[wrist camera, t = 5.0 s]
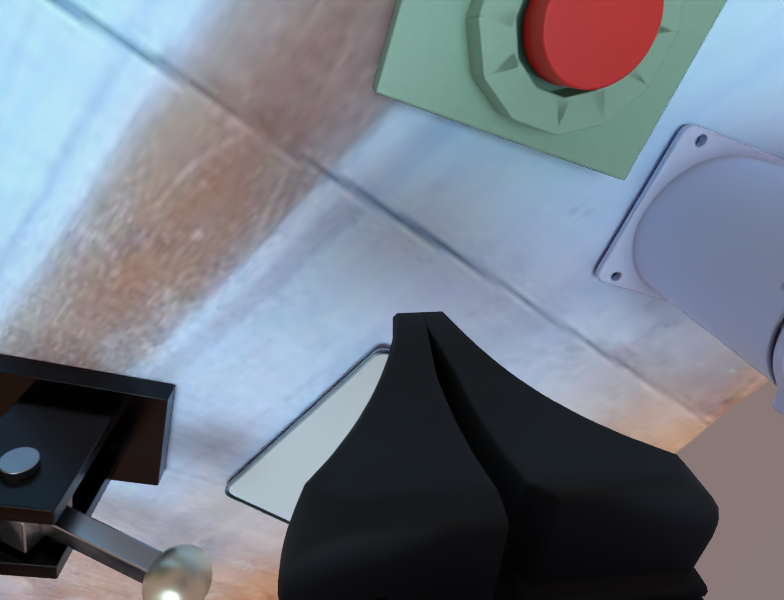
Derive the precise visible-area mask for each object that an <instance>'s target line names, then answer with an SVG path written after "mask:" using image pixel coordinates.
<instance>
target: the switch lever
mask: <svg viewBox="0 0 784 600" xmlns="http://www.w3.org/2000/svg"><path fill="white" fill-rule="evenodd" d="M45 535H46V536H48V537H50V538H52V539H54V540H56V541H58V542H60V543H62V544H64V545H66V546H68V547H70V548H72V549H74V550H76V551H78V552H80V553H82V554H84V555H86V556H88V557H90V558H92V559H94V560H96V561H98V562H100V563H102V564H104V565H106V566H108V567H110V568H112V569H114V570H116V571H118V572H120V573H122V574H124V575H126V576H128V577H130V578H132V579H134V580H136V581H138V582H140V583H142V597H143V600H203V599H204V598H205V596H206V595H207V593H208V591H209V588H210V585H211V582H212V565H211V562H210V559H209V557H208V556H207V554H206V553H205V552H204V551H203V550H202V549H201V548H199V547H197V546H194V545H190V544H180V545H176V546H173V547H171V548H168V549H167V550H165V551H164V552H162V551H160V550H157V549H155V548H153V547H151V546H149V545H147V544H145V543H143V542H141V541H139V540H137V539H135V538H133V537H131V536H129V535H127V534H125V533H123V532H121V531H119V530H117V529H115V528H113V527H111V526H108V525H106V524H104V523H102V522H100V521H98V520H96V519H94V518H92V517H90V516H88V515H86V514H84V513H82V512H80V511H78V510H76V509H74V508H73V500H72V497H71V499H70V500H69V502H68V504H67V505H66V507H65V508H64V510H63V512H62V513H61V515H60V517H59V518H58V520H57V522H56V523H55V524H54V525H45V524H35V523H25V522H15V521H5V520H0V541H2V542H4V543H6V544H8V545H10V546H12V547H14V548H15V549H17V550H19V551H21V552H23V553H27V552H28V551H29V550H30V549H31V548H32V547H34V546H35V545H36V544H37V543H38V542H39V541H40V540H41V539H42V538H43V537H44V536H45Z"/></svg>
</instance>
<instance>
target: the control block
mask: <svg viewBox="0 0 784 600" xmlns="http://www.w3.org/2000/svg"><path fill="white" fill-rule="evenodd" d="M529 1H530V0H396V4H395V7H394V11H393V15H392V18H391V22H390V25H389V29H388V33H387V36H386V40H385V43H384V47H383V51H382V54H381V58H380V61H379V65H378V69H377V72H376V76H375V80H374V83H373V89H374V90H375V92H376V93H377V94H380V95H383V96H386V97H389V98H392V99H394V100H397V101H400V102H403V103H406V104H409V105H411V106H414V107H417V108H420V109H423V110H426V111H428V112H431V113H434V114H437V115H440V116H442V117H445V118H448V119H451V120H454V121H457V122H459V123H462V124H465V125H468V126H471V127H474V128H476V129H479V130H482V131H485V132H488V133H491V134H493V135H496V136H499V137H502V138H505V139H508V140H510V141H513V142H516V143H519V144H522V145H525V146H527V147H530V148H533V149H536V150H539V151H542V152H544V153H547V154H550V155H553V156H556V157H559V158H561V159H564V160H567V161H570V162H573V163H575V164H578V165H581V166H584V167H587V168H590V169H592V170H595V171H598V172H601V173H604V174H607V175H609V176H612V177H615V178H618V179H621V180H625V178H626V177H627V175H628V173H629V171H630V170H631V168H632V166H633V164H634V163H635V161H636V159H637V157H638V156H639V154H640V152H641V150H642V149H643V147H644V145H645V143H646V142H647V140H648V138H649V136H650V135H651V133H652V131H653V129H654V128H655V126H656V124H657V122H658V121H659V119H660V117H661V115H662V114H663V112H664V110H665V108H666V107H667V105H668V103H669V101H670V100H671V98H672V96H673V94H674V93H675V91H676V89H677V87H678V86H679V84H680V82H681V80H682V79H683V77H684V75H685V73H686V71H687V70H688V68H689V66H690V64H691V63H692V61H693V59H694V57H695V56H696V54H697V52H698V50H699V49H700V47H701V45H702V43H703V42H704V40H705V38H706V36H707V35H708V33H709V31H710V29H711V28H712V26H713V24H714V22H715V21H716V19H717V17H718V15H719V14H720V12H721V10H722V8H723V7H724V5H725V3H726V1H727V0H664V8H663V15H662V20H661V24H660V27H659V30H658V33H657V36H656V38H655V40H654V42H653V44H652V46H651V48H650V49H649V51H648V53H647V54H646V56H645V57H644V58H643V60H642V61H641V62H640V63H639V64H638V65H637V67H636V68H634V69H633V70H632V71H631V72H630V73H629V74H628V75H626V76H625V77H624V78H622V79H621V80H619V81H618V82H616V83H614V84H612V85H610V86H607V87H604V88H601V89H596V90H580V89H574V88H569V87H563V86H558V85H554V84H551V83H549V82H547V81H545V80H544V79H542V78H541V77H540V76H539V75H538V74H537V73H536V72H535V71H534V70H533V68H532V67H531V65H530V63H529V61H528V59H527V57H526V54H525V50H524V45H523V23H524V17H525V13H526V9H527V6H528V4H529Z"/></svg>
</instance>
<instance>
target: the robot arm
mask: <svg viewBox="0 0 784 600" xmlns="http://www.w3.org/2000/svg"><path fill="white" fill-rule="evenodd" d="M700 135H701V139H700V141H699V142H698V143H697V144H696V145H695V141H696V139H697V138H698V136H700ZM615 272H617V274H616V275H615V276H614V277H612V278H611V276H612V275H613V273H615ZM595 276H596V277H597V278H598V279H599V280H600V281H602V282H604V283H608V284H611V285H615V286H618V287H622V288H625V289H629V290H632V291H636V292H639V293H643V294H646V295H650V296H653V297H657V298H660V299H664V300H667V301H670V302H671V303H672V304H673V305H675V306H676V307H677V308H678V309H680V310H681V311H682V312H684V313H685V314H686V315H687V316H689V317H690V318H691V319H692V320H694V321H695V322H696V323H697V324H699V325H700V326H701V327H703V328H704V329H705V330H706V331H708V332H709V333H710V334H711V335H713V336H714V337H715V338H717V339H718V340H719V341H720V342H722V343H723V344H724V345H725V346H727V347H728V348H729V349H731V350H732V351H733V352H734V353H736V354H737V355H738V356H739V357H741V358H742V359H743V360H745V361H746V362H747V363H748V364H750V365H751V366H752V367H753V368H755V369H756V370H757V371H759V372H760V373H761V374H762V375H764V376H765V377H766V378H767V379H769V380H770V381H771V382H773V383H774V384H775V385H776V386H777V393H776V397H775V399H774V400H773V403H772V407H773V408H775V409H776V410H777V411H778V412H779V413H780V414H782V415H783V416H784V160H782V159H779V158H777V157H775V156H772V155H770V154H767V153H765V152H762V151H760V150H757V149H755V148H752V147H750V146H748V145H745V144H743V143H740V142H738V141H735V140H733V139H730V138H728V137H725V136H723V135H721V134H718V133H716V132H713V131H711V130H708V129H706V128H703V127H701V126H698V125H694V124H688V125H685V126H684V127H682V128H681V129H680V131H679V132H678V133H677V135H676V137H675V138H674V140H673V142H672V143H671V145H670V147H669V148H668V150H667V152H666V153H665V155H664V157H663V158H662V160H661V162H660V163H659V165H658V167H657V168H656V170H655V172H654V173H653V175H652V177H651V178H650V180H649V182H648V183H647V185H646V187H645V189H644V190H643V192H642V194H641V195H640V197H639V199H638V200H637V202H636V204H635V205H634V207H633V209H632V210H631V212H630V214H629V215H628V217H627V219H626V220H625V222H624V224H623V225H622V227H621V229H620V230H619V232H618V234H617V235H616V237H615V239H614V240H613V242H612V244H611V245H610V247H609V249H608V250H607V252H606V254H605V256H604V257H603V259H602V261H601V262H600V264H599V266H598V267H597V269H596V272H595ZM718 515H719V512H718V506H717V504H716V503H715V501H714V499H713V498H712V496H711V495H710V494H709V493H708V491H707V490H706V489H705V488H704V486H703V485H702V484H701V483H700V482H699V480H698V479H697V478H696V477H695V475H694V474H693V473H692V472H691V471H690V469H689V468H688V467H687V466H686V465H685V463H684V462H683V461H682V460H681V459H680V458H679V457H678V455H676V454H673V453H671V452H668V451H665V450H662V449H660V448H657V447H654V446H652V445H649V444H646V443H644V442H641V441H638V440H635V439H633V438H630V437H627V436H625V435H623V434H620V433H618V432H616V431H613V430H611V429H609V428H607V427H604V426H602V425H600V424H598V423H595V422H593V421H591V420H589V419H587V418H585V417H583V416H581V415H579V414H577V413H575V412H573V411H571V410H569V409H568V408H566V407H564V406H562V405H560V404H558V403H557V402H555V401H553V400H551V399H550V398H548V397H546V396H544V395H543V394H541V393H539V392H538V391H536V390H535V389H533V388H532V387H530V386H529V385H527V384H526V383H524V382H523V381H521V380H520V379H518V378H517V377H515V376H514V375H513V374H511V373H510V372H509V371H507V370H506V369H505V368H504V367H502V366H501V365H500V364H498V363H497V362H496V361H495V360H493V359H492V358H491V357H490V356H489V355H487V354H486V353H485V352H484V351H483V350H482V349H481V348H479V347H478V346H477V345H476V344H475V343H474V342H473V341H472V340H471V339H470V338H469V337H468V336H467V335H465V334H464V333H463V332H462V331H461V330H460V329H459V328H458V327H457V326H456V325H455V324H454V323H453V322H452V321H451V320H450V319H449V318H448V317H447V316H446V315H445V314H444V313H443V312H418V313H397V314H396V315H395V316H394V317H393V339H392V344H391V347H390V351H389V355H388V358H387V361H386V364H385V366H384V369H383V371H382V374H381V377H380V379H379V381H378V384H377V386H376V388H375V390H374V392H373V394H372V396H371V398H370V400H369V402H368V403H367V405H366V407H365V408H364V410H363V412H362V413H361V415H360V417H359V418H358V420H357V421H356V423H355V424H354V426H353V427H352V429H351V430H350V432H349V433H348V434H347V436H346V437H345V438H344V440H343V441H342V442H341V443H340V445H339V446H338V447H337V449H336V450H335V451H334V453H333V454H332V455H331V456H330V457H329V458H328V460H327V461H326V462H325V463H324V464H323V465H322V466H321V467H320V468H319V469H318V470H317V471H316V472H315V474H314V475H313V476H312V477H311V478H310V479H309V480H308V481H307V482H306V483H305V485H304V487H303V489H302V492H301V494H300V496H299V499H298V501H297V504H296V506H295V509H294V512H293V514H292V517H291V520H290V523H289V526H288V529H287V532H286V536H285V540H284V544H283V548H282V553H281V560H280V569H279V578H278V598H279V600H703V598H702V596H705V595H706V593H707V592H708V591H707V587H706V584H705V583H704V581H703V580H702V578H701V577H700V575H699V574H698V572H697V571H696V569H695V568H694V566H695V564H696V563H697V561H698V559H699V557H700V556H701V554H702V553H703V551H704V550H705V548H706V546H707V545H708V543H709V541H710V540H711V538H712V536H713V534H714V532H715V529H716V527H717V524H718V520H719V516H718Z"/></svg>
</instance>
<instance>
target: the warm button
mask: <svg viewBox="0 0 784 600" xmlns="http://www.w3.org/2000/svg"><path fill="white" fill-rule="evenodd" d="M663 8H664V0H530V1H529V4H528V6H527V9H526V13H525V17H524V23H523V45H524V50H525V54H526V57H527V59H528V61H529V63H530V65H531V67H532V68H533V70H534V71H535V72H536V73H537V74H538V75H539V76H540V77H541V78H542V79H544V80H545V81H547V82H549V83H551V84H554V85H558V86H563V87H569V88H574V89H580V90H596V89H601V88H604V87H607V86H610V85H612V84H614V83H616V82H618V81H619V80H621V79H622V78H624V77H625V76H626V75H628V74H629V73H630V72H631V71H632V70H633V69H634V68H636V67H637V65H638V64H639V63H640V62H641V61H642V60H643V58H644V57H645V56H646V54H647V53H648V51H649V49H650V48H651V46H652V44H653V42H654V40H655V38H656V36H657V33H658V30H659V27H660V24H661V20H662V15H663Z"/></svg>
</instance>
